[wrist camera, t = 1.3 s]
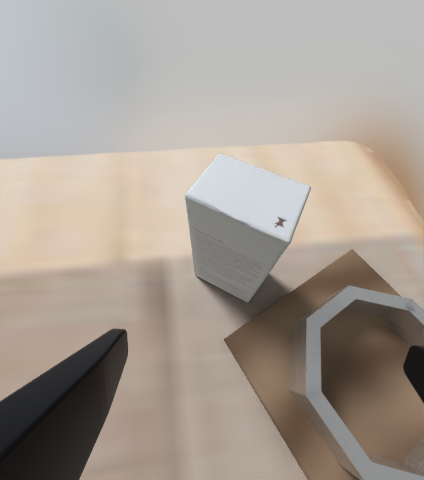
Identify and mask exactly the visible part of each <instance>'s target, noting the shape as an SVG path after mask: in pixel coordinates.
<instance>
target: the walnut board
mask: <svg viewBox="0 0 424 480" xmlns="http://www.w3.org/2000/svg"><path fill="white" fill-rule="evenodd" d="M347 286H354V287H359V288H363V289H368V290H372V291H377V292H382V293H386V294H391V295H395V296H400V295H399V294H398V293H397V292H396V291H395V290H394V289H393V288H392V287H391V286H390V285H389V284H388V283H387V282H386V281H385V280H384V279H383V278H382V277H381V276H380V275H378V274H377V273H376V272H375V271H374V270H373V269H372V268H371V267H370V266H369V265H368V264H367V263H366V262H365V261H364V260H363V259H362V258H361V257H360V256H359V255H358V254H357V253H356V252H355V251H354V250H353V249H352V250H350V251H349V252H347V253H346V254H345V255H343V256H342V257H340V258H339V259H337V260H336V261H335V262H333V263H332V264H330V265H329V266H328V267H326V268H325V269H323V270H322V271H320V272H319V273H318V274H316V275H315V276H313V277H312V278H310V279H309V280H308V281H306V282H305V283H303V284H302V285H300V286H299V287H298V288H296V289H295V290H293V291H292V292H291V293H289V294H288V295H286V296H285V297H283V298H282V299H281V300H279V301H278V302H276V303H275V304H273V305H272V306H271V307H269V308H268V309H266V310H265V311H264V312H262V313H261V314H259V315H258V316H256V317H255V318H254V319H252V320H251V321H249V322H248V323H246V324H245V325H244V326H242V327H241V328H239V329H238V330H236V331H235V332H234V333H232V334H231V335H229V336H228V337H227V338H225V339H224V341H225V342H226V344H227V346H228V347H229V349H230V351H231V352H232V354H233V356H234V357H235V359H236V361H237V362H238V364H239V366H240V367H241V369H242V371H243V372H244V374H245V376H246V377H247V379H248V381H249V382H250V384H251V386H252V387H253V389H254V391H255V392H256V394H257V396H258V397H259V399H260V401H261V402H262V404H263V406H264V407H265V409H266V411H267V412H268V414H269V416H270V417H271V419H272V421H273V422H274V424H275V426H276V427H277V429H278V431H279V432H280V434H281V436H282V437H283V439H284V441H285V442H286V444H287V446H288V447H289V449H290V451H291V452H292V454H293V456H294V457H295V459H296V461H297V462H298V464H299V466H300V467H301V469H302V471H303V472H304V474H305V476H306V477H307V479H308V480H360V479H359V478H357V477H356V476H355V475H353V474H352V473H351V472H349V471H348V470H347V469H345V468H344V467H343V466H341V465H340V464H339V463H338V462H337V460H336V459H335V457H334V456H333V454H332V453H331V451H330V450H329V448H328V447H327V445H326V444H325V442H324V441H323V439H322V438H321V436H320V435H319V433H318V432H317V430H316V429H315V427H314V426H313V424H312V423H311V421H310V420H309V418H308V417H307V415H306V414H305V412H304V411H303V409H302V408H301V406H300V405H299V403H298V402H297V400H296V399H295V397H294V396H293V394H292V393H291V391H290V390H289V389H290V372H291V348H292V324H294V323H295V322H297V321H298V320H299V319H300V318H302V317H303V316H304V315H306V314H307V313H308V312H310V311H311V310H312V309H314V308H315V307H316V306H318V305H319V304H320V303H321V302H323V301H324V300H325V299H327V298H328V297H329V296H330V295H332V294H334V293H336V292H337V291H339V290H341V289H343V288H345V287H347ZM400 297H401V296H400ZM320 341H321V392H322V393H323V395H324V396H325V397H326V399H327V400H328V402H329V403H330V404H331V406H332V407H333V409H334V410H335V411H336V413H337V414H338V416H339V417H340V418H341V420H342V421H343V422H344V424H345V425H346V427H347V428H348V429H349V431H350V432H351V434H352V435H353V436H354V438H355V439H356V441H357V442H358V443H359V445H360V446H361V448H362V449H363V450H364V451H367V452H371V453H375V454H378V455H382V456H385V457H389V458H393V459H396V460H400V461H404V459H405V458H406V457H407V456H408V455H409V453H410V452H411V451H412V450H413V448H414V447H415V446H416V445H417V443H418V442H419V441H420V440H421V438H422V437H423V436H424V403H423V402H422V400H421V399H420V397H419V395H418V394H417V392H416V391H415V389H414V388H413V386H412V384H411V383H410V381H409V380H408V378H407V376H406V375H405V373H404V370H403V364H404V361H405V358H406V356H407V353H408V350H409V348H410V347H409V346H408V345H407V344H406V343H405V342H404V341H403V339H402V338H401V337H400V336H399V335H398V334H397V333H396V332H395V331H394V330H393V329H392V328H391V327H390V326H389V325H388V324H387V323H386V322H385V321H384V319H383V318H382V317H377V316H373V315H369V314H364V313H360V312H355V311H351V310H346V309H343V310H342V311H340V312H339V313H338V314H337V315H335V316H334V317H333V318H332V319H330V320H329V321H328V322H327V323H325V324H324V325H323V326H322V327H320Z"/></svg>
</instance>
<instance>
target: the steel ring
mask: <svg viewBox="0 0 424 480" xmlns="http://www.w3.org/2000/svg"><path fill="white" fill-rule="evenodd" d="M343 309H346V310H351V311H355V312H360V313H364V314H369V315H373V316H377V317H382V318H383V319H384V321H385V322H386V323H387V324H388V325H389V326H390V327H391V328H392V329H393V330H394V331H395V332H396V333H397V334H398V335H399V336H400V337H401V338H402V339H403V341H404V342H405V343H406V344H407V345H408V346H409V347H411V346H412V345H424V310H423V309H422V308H421V307H420V306H419V305H418V304H417V303H415V302H414V301H413V299H409V298H405V297H400V296H395V295H391V294H386V293H382V292H377V291H372V290H368V289H363V288H359V287H354V286H347V287H345V288H343V289H341V290H339V291H337V292H336V293H334V294H332V295H330V296H329V297H328V298H327V299H325V300H324V301H323V302H321V303H320V304H319V305H318V306H316V307H315V308H314V309H312V310H311V311H310V312H308V313H307V314H306V315H304V316H303V317H302V318H300V319H299V320H298V321H297V322H295V323H294V324H292V348H291V372H290V389H289V390H290V391H291V393H292V394H293V396H294V397H295V399H296V400H297V402H298V403H299V405H300V406H301V408H302V409H303V411H304V412H305V414H306V415H307V417H308V418H309V420H310V421H311V423H312V424H313V426H314V427H315V429H316V430H317V432H318V433H319V435H320V436H321V438H322V439H323V441H324V442H325V444H326V445H327V447H328V448H329V450H330V451H331V453H332V454H333V456H334V457H335V459H336V460H337V462H338V463H339V464H340V465H341V466H343V467H344V468H345V469H347V470H348V471H349V472H351V473H352V474H353V475H355V476H356V477H357V478H359V479H360V480H424V436H423V437H422V438H421V440H420V441H419V442H418V443H417V445H416V446H415V447H414V448H413V450H412V451H411V452H410V453H409V455H408V456H407V457H406V458H405V459H404V461H400V460H396V459H393V458H389V457H385V456H382V455H378V454H375V453H371V452H367V451H364V450H363V449H362V448H361V446H360V445H359V443H358V442H357V441H356V439H355V438H354V436H353V435H352V434H351V432H350V431H349V429H348V428H347V427H346V425H345V424H344V422H343V421H342V420H341V418H340V417H339V416H338V414H337V413H336V411H335V410H334V409H333V407H332V406H331V404H330V403H329V402H328V400H327V399H326V397H325V396H324V395H323V393H322V392H321V341H320V327H322V326H323V325H324V324H325V323H327V322H328V321H329V320H330V319H332V318H333V317H334V316H335V315H337V314H338V313H339V312H340V311H342V310H343Z"/></svg>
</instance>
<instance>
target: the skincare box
mask: <svg viewBox="0 0 424 480" xmlns="http://www.w3.org/2000/svg"><path fill="white" fill-rule="evenodd" d="M310 189H311V187H310V186H308V185H305V184H302V183H300V182H297V181H294V180H291V179H288V178H286V177H283V176H280V175H277V174H275V173H272V172H269V171H267V170H264V169H262V168H259V167H256V166H254V165H251V164H248V163H245V162H243V161H240V160H237V159H235V158H232V157H229V156H227V155H224V154H222V153H219V154H218V155H217V157H216V158H215V159H214V160H213V162H212V163H211V164H210V165H209V166H208V168H207V169H206V170H205V171H204V173H203V174H202V175H201V176H200V177H199V179H198V180H197V181H196V182H195V184H194V185H193V186H192V187H191V188H190V190H189V191H188V192H187V193H186V195H185V200H186V207H187V214H188V222H189V229H190V238H191V246H192V255H193V263H194V271H195V275H196V276H198V277H200V278H202V279H203V280H205V281H207V282H209V283H211V284H213V285H215V286H217V287H219V288H220V289H222V290H224V291H226V292H228V293H230V294H232V295H234V296H236V297H238V298H239V299H241V300H243V301H245V302H247V303H249V302H250V300H251V299H252V297H253V296H254V294H255V293H256V291H257V290H258V289H259V287H260V286H261V284H262V283H263V281H264V280H265V278H266V277H267V276H268V274H269V273H270V271H271V270H272V268H273V267H274V265H275V264H276V262H277V261H278V259H279V258H280V256H281V255H282V253H283V252H284V251H285V249H286V248H287V247H288V245H289V244H290V243H291V240H292V237H293V234H294V232H295V229H296V226H297V224H298V221H299V218H300V216H301V213H302V211H303V208H304V205H305V203H306V200H307V198H308V195H309V192H310Z"/></svg>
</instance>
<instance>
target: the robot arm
mask: <svg viewBox="0 0 424 480" xmlns="http://www.w3.org/2000/svg"><path fill="white" fill-rule="evenodd" d="M127 356H128V341H127V332H126V330H125V329H111V330H110V331H108V332H107V333H105V334H103V335H102V336H100V337H99V338H97V339H96V340H94V341H93V342H91V343H90V344H88V345H87V346H85V347H83V348H82V349H80V350H79V351H77V352H76V353H74V354H73V355H71V356H70V357H68V358H66V359H65V360H63V361H62V362H60V363H59V364H57V365H56V366H54V367H53V368H51V369H49V370H48V371H46V372H45V373H43V374H42V375H40V376H39V377H37V378H36V379H34V380H32V381H31V382H29V383H28V384H26V385H25V386H23V387H22V388H20V389H19V390H17V391H15V392H14V393H12V394H11V395H9V396H8V397H6V398H5V399H3V400H2V401H0V480H79V479H80V476H81V474H82V472H83V470H84V467H85V465H86V463H87V461H88V458H89V456H90V454H91V452H92V449H93V447H94V445H95V443H96V440H97V438H98V436H99V434H100V431H101V429H102V427H103V425H104V422H105V420H106V417H107V415H108V413H109V410H110V407H111V404H112V401H113V398H114V395H115V392H116V389H117V387H118V384H119V381H120V378H121V375H122V372H123V369H124V366H125V363H126V360H127ZM403 370H404V373H405V375H406V376H407V378H408V380H409V381H410V383H411V384H412V386H413V388H414V389H415V391H416V392H417V394H418V395H419V397H420V399H421V400H422V402H423V403H424V345H412V346H411V347H410V348H409V350H408V353H407V356H406V358H405V361H404V364H403Z"/></svg>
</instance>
